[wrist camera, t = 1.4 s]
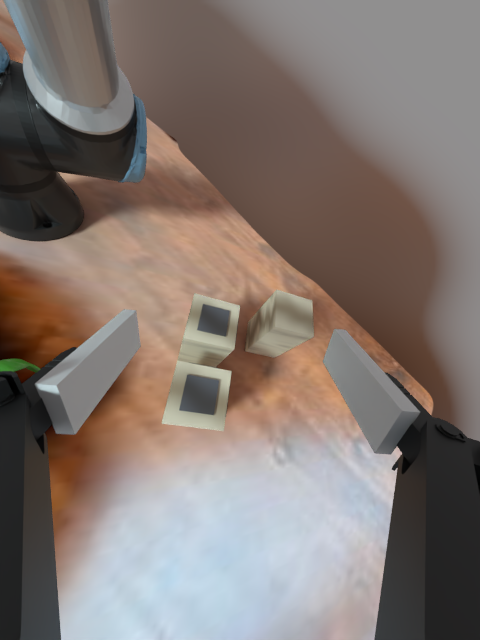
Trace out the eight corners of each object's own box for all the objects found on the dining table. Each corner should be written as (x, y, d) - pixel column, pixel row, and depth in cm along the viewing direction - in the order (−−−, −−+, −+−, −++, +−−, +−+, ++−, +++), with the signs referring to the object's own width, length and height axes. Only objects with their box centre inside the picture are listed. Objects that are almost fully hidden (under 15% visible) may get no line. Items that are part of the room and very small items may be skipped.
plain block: (248, 321, 48) (276, 289, 36) (275, 329, 50) (312, 300, 38) (244, 351, 45) (275, 326, 33) (274, 357, 46) (313, 336, 34)
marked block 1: (185, 327, 43) (195, 290, 30) (220, 335, 44) (242, 303, 32) (176, 362, 39) (183, 337, 27) (214, 369, 41) (237, 349, 29)
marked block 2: (173, 377, 38) (178, 357, 26) (212, 383, 40) (234, 368, 28) (161, 421, 35) (161, 423, 23) (205, 426, 37) (226, 431, 24)
